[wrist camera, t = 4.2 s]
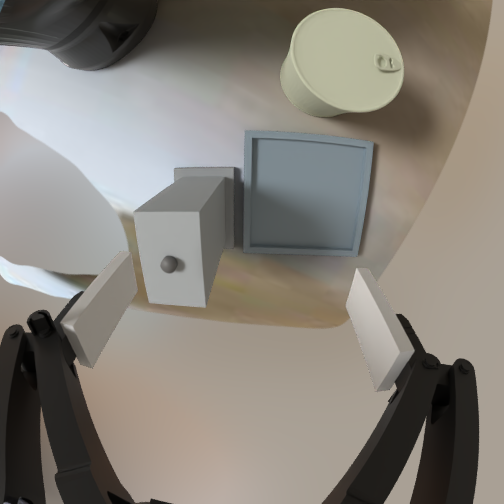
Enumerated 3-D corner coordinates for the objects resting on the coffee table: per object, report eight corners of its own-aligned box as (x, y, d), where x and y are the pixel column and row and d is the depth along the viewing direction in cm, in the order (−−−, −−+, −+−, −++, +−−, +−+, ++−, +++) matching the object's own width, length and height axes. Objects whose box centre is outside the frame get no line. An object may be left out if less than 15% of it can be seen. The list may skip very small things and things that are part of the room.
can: (360, 119, 27) (411, 120, 16) (282, 116, 27) (294, 109, 17) (355, 48, 23) (400, 17, 12) (277, 43, 23) (285, -1, 13)
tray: (245, 130, 28) (244, 130, 27) (369, 141, 28) (373, 141, 27) (243, 248, 35) (243, 252, 34) (354, 252, 34) (357, 256, 33)
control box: (175, 167, 30) (116, 201, 17) (234, 167, 30) (211, 199, 17) (181, 244, 35) (138, 314, 22) (234, 246, 35) (217, 322, 21)
